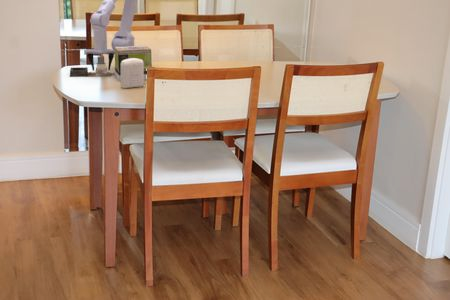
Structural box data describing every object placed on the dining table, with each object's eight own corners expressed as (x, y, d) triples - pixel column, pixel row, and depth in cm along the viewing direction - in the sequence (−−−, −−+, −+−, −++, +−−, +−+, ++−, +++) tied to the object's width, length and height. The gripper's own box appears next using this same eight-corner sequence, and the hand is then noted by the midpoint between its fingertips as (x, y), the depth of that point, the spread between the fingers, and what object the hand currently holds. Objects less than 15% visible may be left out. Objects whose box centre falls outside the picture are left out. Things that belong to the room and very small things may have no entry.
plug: (106, 73, 289) (105, 56, 287) (106, 75, 286) (105, 57, 283) (97, 73, 289) (96, 56, 286) (97, 75, 285) (96, 57, 282)
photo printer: (141, 84, 275) (140, 56, 271) (145, 86, 272) (145, 58, 268) (119, 87, 270) (118, 58, 266) (123, 89, 266) (122, 60, 262)
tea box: (147, 77, 290) (147, 45, 285) (152, 82, 281) (152, 49, 276) (115, 78, 285) (114, 45, 280) (118, 83, 276) (117, 49, 271)
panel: (110, 74, 292) (110, 66, 291) (110, 78, 284) (110, 71, 283) (70, 74, 289) (70, 67, 288) (69, 79, 281) (69, 71, 280)
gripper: (83, 41, 277) (84, 72, 282) (116, 41, 280) (117, 71, 284) (83, 39, 284) (85, 68, 288) (116, 39, 286) (117, 68, 291)
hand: (101, 70), depth 287 cm, fingers open, 6 cm apart
